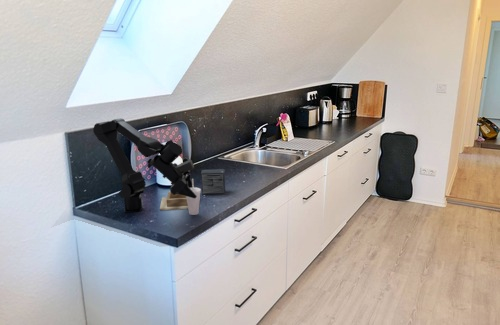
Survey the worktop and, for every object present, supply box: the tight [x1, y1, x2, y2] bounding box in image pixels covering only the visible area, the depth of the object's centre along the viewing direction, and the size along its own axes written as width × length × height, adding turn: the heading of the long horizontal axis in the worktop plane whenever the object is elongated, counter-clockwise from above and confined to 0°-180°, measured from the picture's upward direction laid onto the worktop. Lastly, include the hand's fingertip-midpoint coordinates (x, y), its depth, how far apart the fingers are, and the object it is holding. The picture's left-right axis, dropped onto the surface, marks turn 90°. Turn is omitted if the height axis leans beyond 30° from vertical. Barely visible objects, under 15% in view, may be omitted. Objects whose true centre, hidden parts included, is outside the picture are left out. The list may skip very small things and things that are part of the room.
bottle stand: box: [159, 191, 188, 211], centre depth 175 cm, size 16×14×4 cm
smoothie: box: [186, 178, 202, 216], centre depth 159 cm, size 6×6×14 cm
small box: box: [200, 168, 226, 196], centre depth 187 cm, size 11×6×10 cm, turn 92°
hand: (196, 194), depth 159 cm, fingers closed on smoothie, 6 cm apart
